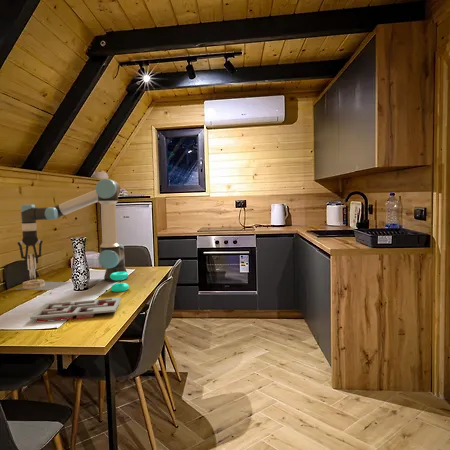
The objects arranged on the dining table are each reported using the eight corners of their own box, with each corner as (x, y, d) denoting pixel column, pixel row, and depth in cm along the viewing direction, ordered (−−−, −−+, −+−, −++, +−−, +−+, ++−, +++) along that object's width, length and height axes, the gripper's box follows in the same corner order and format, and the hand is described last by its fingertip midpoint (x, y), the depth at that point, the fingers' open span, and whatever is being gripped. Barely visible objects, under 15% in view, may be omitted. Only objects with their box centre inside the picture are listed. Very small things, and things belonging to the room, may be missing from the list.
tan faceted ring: (48, 284, 209) (48, 279, 209) (35, 288, 199) (35, 283, 198) (32, 284, 211) (32, 279, 211) (19, 288, 201) (18, 283, 200)
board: (70, 284, 213) (70, 282, 213) (51, 292, 195) (51, 289, 195) (37, 284, 217) (36, 281, 217) (15, 291, 200) (14, 289, 199)
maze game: (30, 324, 145) (29, 317, 145) (46, 309, 164) (46, 303, 164) (115, 316, 151) (115, 309, 150) (121, 303, 170) (121, 297, 170)
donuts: (115, 271, 200) (131, 271, 198) (116, 287, 201) (132, 288, 199) (106, 274, 190) (122, 275, 188) (107, 292, 191) (123, 292, 189)
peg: (36, 278, 206) (35, 253, 205) (33, 279, 203) (31, 254, 202) (32, 278, 206) (30, 253, 205) (28, 279, 203) (27, 254, 202)
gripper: (44, 229, 210) (46, 266, 211) (14, 230, 202) (16, 269, 203) (44, 229, 203) (47, 268, 205) (13, 231, 195) (16, 271, 197)
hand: (32, 269), depth 204 cm, fingers closed on peg, 3 cm apart
